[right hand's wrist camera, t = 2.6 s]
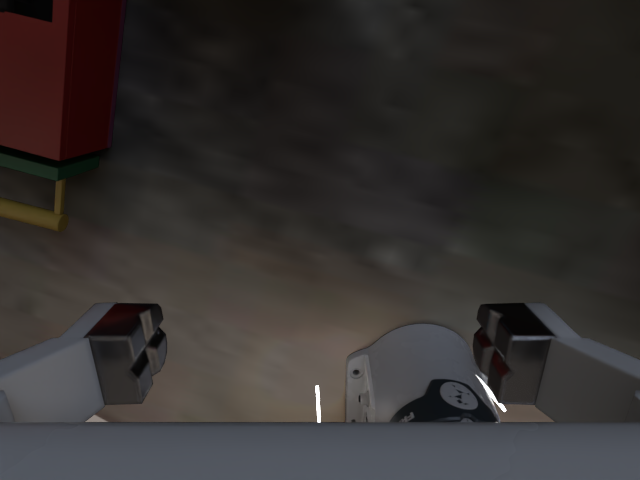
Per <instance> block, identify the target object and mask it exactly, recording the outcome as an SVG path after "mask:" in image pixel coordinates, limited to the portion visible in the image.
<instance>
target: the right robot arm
mask: <svg viewBox="0 0 640 480" xmlns="http://www.w3.org/2000/svg"><path fill="white" fill-rule="evenodd" d="M162 321H163V314H162V309H161V307H160V306H159V305H158V304H147V303H97V304H94V305H93V306H92V307H91V308H90V309H89V310H88V311H87V312H86V313H85V314H84V315H83V316H82V317H81V318H79V319H78V320H77V321H76V322H75V323H74V324H73V325H72V326H71V327H70V328H69V329H68V330H67V331H66V332H65V333H64V334H63V335H62V336H61V337H59V338H51V339H49V340H46V341H44V342H42V343H39V344H37V345H34V346H32V347H30V348H27V349H25V350H23V351H20V352H18V353H15V354H13V355H11V356H8V357H6V358H3V359H1V360H0V480H640V360H639V359H636V358H634V357H632V356H629V355H627V354H625V353H622V352H620V351H617V350H615V349H613V348H610V347H608V346H606V345H603V344H601V343H598V342H596V341H594V340H591V339H589V338H581V337H579V336H578V335H577V334H576V333H575V332H574V331H573V330H572V329H571V328H570V327H569V326H568V325H567V324H566V323H565V322H564V321H563V320H562V319H561V318H560V317H558V316H557V315H556V314H555V313H554V312H553V311H552V310H551V309H550V308H549V307H548V306H547V305H546V304H543V303H503V304H481V305H480V307H479V309H478V314H477V321H478V322H479V324H480V325H481V328H480V329H479V330H478V331H477V332H476V333H475V334H474V339H473V354H472V352H471V349H470V348H469V346H468V344H467V343H466V342H465V341H464V339H463V338H462V337H460V336H459V335H458V334H456V333H455V332H453V331H452V330H450V329H447V328H445V327H442V326H438V325H433V324H412V325H407V326H403V327H400V328H397V329H395V330H393V331H391V332H389V333H387V334H385V335H384V336H383V337H381V338H380V339H379V340H377V341H376V342H375V343H374V344H373V345H371V346H370V347H368V348H365V349H362V350H359V351H357V352H354V353H352V354H351V355H349V356H348V357H347V359H346V394H345V422H320V402H319V386H316V400H317V417H318V422H85V421H87V420H88V419H89V418H91V417H92V416H93V415H94V414H96V413H97V412H98V411H100V410H101V409H102V408H104V407H105V405H115V404H142V402H143V401H144V399H145V397H146V395H147V394H148V392H149V390H150V388H151V387H152V385H153V380H152V376H153V375H155V374H157V373H158V372H160V371H161V369H162V367H163V365H164V363H165V359H166V354H167V338H166V334H165V333H164V332H163V331H162V330H161V329H160V328H159V325H160V324H161V322H162ZM473 355H474V357H473ZM474 359H475V360H474ZM354 370H358V371H354ZM489 388H490V389H489ZM490 390H491V391H490ZM491 397H492V398H493V399H494V401H495V402H496V403H497V404H498V405H499V406H500V408H501V409H502V410H503V411H504V412H505V411H506V409H505V408H504V406H503V405H502V404H524V405H535V407H536V408H538V409H539V410H540V411H542V412H543V413H544V414H546V415H547V416H548V417H550V418H551V419H552V420H554V421H555V422H500V418H499V416H498V413H497V411H496V408H495V406H494V403H493V401H492V398H491Z"/></svg>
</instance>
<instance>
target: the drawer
mask: <svg viewBox="0 0 640 480" xmlns="http://www.w3.org/2000/svg"><path fill="white" fill-rule="evenodd" d="M0 166H2V167H6V168H10V169H13V170H17V171H21V172H25V173H28V174H32V175H36V176H39V177H43V178H47V179H51V180H54V181H56V190H55V207H54V211H51V210H47V209H43V208H40V207H36V206H32V205H28V204H24V203H20V202H17V201H13V200H9V199H5V198H1V197H0V216H1V217H5V218H9V219H13V220H17V221H20V222H24V223H28V224H32V225H36V226H40V227H44V228H48V229H52V230H55V231H59V232H62V231H64V230H65V228H66V227H67V225H68V220H69V219H68V216H67V215H66V214H63V212H64V198H65V183H66V178H68V177H71V176H74V175H77V174H80V173H83V172H86V171H88V170H91V169H94V168H97V167H98V166H99V156H97V155H93V154H90V153H87V154H83V155H80V156H76V157H72V158H69V159H65V160H61V161H57V160H54V159H50V158H46V157H43V156H39V155H35V154H32V153H28V152H24V151H21V150H17V149H14V148H10V147H6V146H3V145H0Z"/></svg>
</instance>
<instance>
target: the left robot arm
mask: <svg viewBox="0 0 640 480" xmlns="http://www.w3.org/2000/svg"><path fill="white" fill-rule="evenodd" d="M5 11H6V12H9V13H15V14H19V15H23V16H27V17H31V18H35V19H39V20H43V21H47V22H51V23H52V18H53V0H0V12H2V13H4V12H5Z"/></svg>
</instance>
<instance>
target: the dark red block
mask: <svg viewBox="0 0 640 480" xmlns="http://www.w3.org/2000/svg"><path fill="white" fill-rule="evenodd" d="M126 1H127V0H53V18H52V23H51V22H47V21H43V20H39V19H35V18H31V17H27V16H23V15H19V14H15V13H9V12H6V11H5V12H4V13H2V12H0V145H3V146H6V147H10V148H14V149H17V150H21V151H24V152H28V153H32V154H35V155H39V156H43V157H46V158H50V159H54V160H57V161H61V160H65V159H69V158H72V157H76V156H80V155H83V154H87V153H90V152H94V151H98V150H101V149H105V148H110V147H111V144H112V135H113V125H114V116H115V106H116V97H117V87H118V77H119V68H120V58H121V49H122V39H123V30H124V20H125V11H126Z"/></svg>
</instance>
